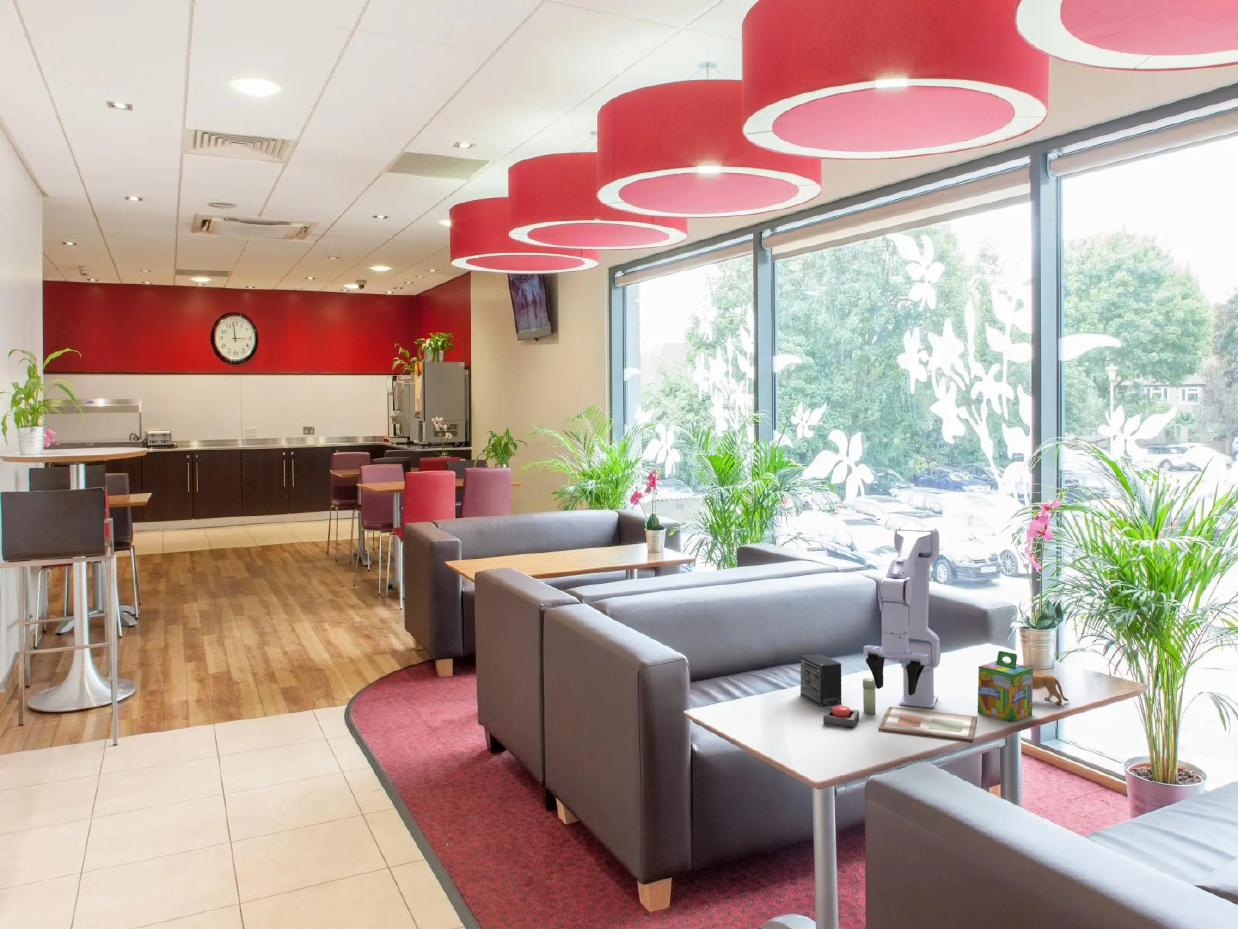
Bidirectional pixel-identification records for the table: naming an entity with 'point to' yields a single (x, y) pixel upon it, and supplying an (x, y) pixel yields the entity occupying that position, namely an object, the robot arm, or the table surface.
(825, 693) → the small box
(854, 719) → the button housing
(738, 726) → the table surface
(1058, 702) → the lion figurine
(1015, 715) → the chalk box
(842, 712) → the button
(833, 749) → the table surface
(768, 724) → the table surface
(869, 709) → the sage marker
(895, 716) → the framed sorting board
